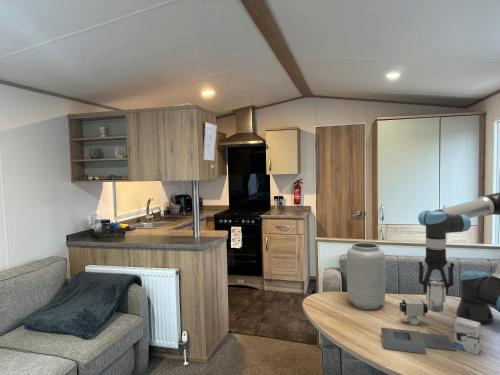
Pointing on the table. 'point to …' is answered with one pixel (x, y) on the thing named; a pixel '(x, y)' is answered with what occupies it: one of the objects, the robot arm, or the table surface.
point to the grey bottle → (435, 294)
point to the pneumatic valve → (413, 310)
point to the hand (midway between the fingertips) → (435, 300)
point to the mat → (437, 342)
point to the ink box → (467, 335)
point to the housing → (403, 340)
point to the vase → (366, 275)
